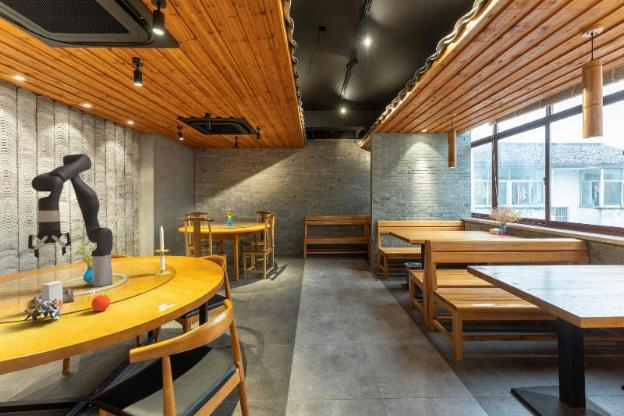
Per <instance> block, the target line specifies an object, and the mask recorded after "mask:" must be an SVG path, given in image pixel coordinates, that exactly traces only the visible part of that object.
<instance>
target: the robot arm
mask: <svg viewBox="0 0 624 416" xmlns="http://www.w3.org/2000/svg"><path fill="white" fill-rule="evenodd" d="M62 163H63V165H60V166H58V167H56V168H54V169H52V170H51V171H49V172H44V173H40V174H38V175H36V176H34V177H33V179H32V180H31V188H32V189H33V190H35V191H36V192H42V193H44V192H45V193H49V192H50V193H49V194H48V195H47V196H42V197H39V198H38V199H37V210H38V211H37V234H29V235H28V237H27V238H28V240H27V242H28V243H27V248H28V250H29V249H30V250H33V254H34V255H33V256H34V258H36V259H39V258H40V251H39V249H40V248H39V247H41V245H43V244H45V245H48V244H56V243H57V244H59V245H60V246H61V256H65V255H66V254H67V247H69V246H71V245H72V244H71V241H72V240H71V234H70V232H67V231H66V232H62V230H61V226H62V225H61V213H60V199H61V195H62V192H63V189H64V184H65V183H67V181H69V180H70V183H71V185H72V188H73V191H74V194H75V197H76V201H77V203H78V206H79V210H80V213H81V215H82V219H83V222H84V227H85V232H86V236H87V239H88V241H89V242H90V243H93V244H96V248H95V249H93V250H92V251H91V274H92V275H91V277H92V278H91V279H92V287H98V288H99V287H105V286H109V285H113V281H114V280H113V267H112V251H113V245H114V238H113V237H114V235H113V231H112V230H111V228H109V227H101V225H100V222H99V218H98V217H99V216H98V215H99V212H100V211H99V210H100V200H99V198H98V195H97V192H96V191H95V190H94V189H93V188H91V186H89V185H88V184H87V183H85V182H84V180H83V179H82V177H81V176H80V174H81V173H83V172H86V171H89V170H90V169H91V168H92V160H91V158H90V157H89V155H87V154H85V153H76V154H68V155H67V154H66V155H64V156H63V157H62ZM62 236H63V237H64V238H66V243H65V242H63V240H61V237H62ZM36 238H37V239H38V240H39V241H38V243H37V244H36V245H33V244H34V243H33V242H34V240H35V239H36Z"/></svg>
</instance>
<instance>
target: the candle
mask: <svg viewBox="0 0 624 416" xmlns="http://www.w3.org/2000/svg"><path fill="white" fill-rule="evenodd" d="M164 240H165V239H164V228H163V226H162V225H161V226H160V228H159V249H156V250H154V252H155V253H159V260H160V262H159V263H160V267H159V269H160V271H158V272H154V274H153V275H154V276H165V275H169V274H170V275H171V273H172V271H168V270H165V268H166V267H165V252H166V253H167V252H169V251H170V249H164V248H165V245H164Z"/></svg>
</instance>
